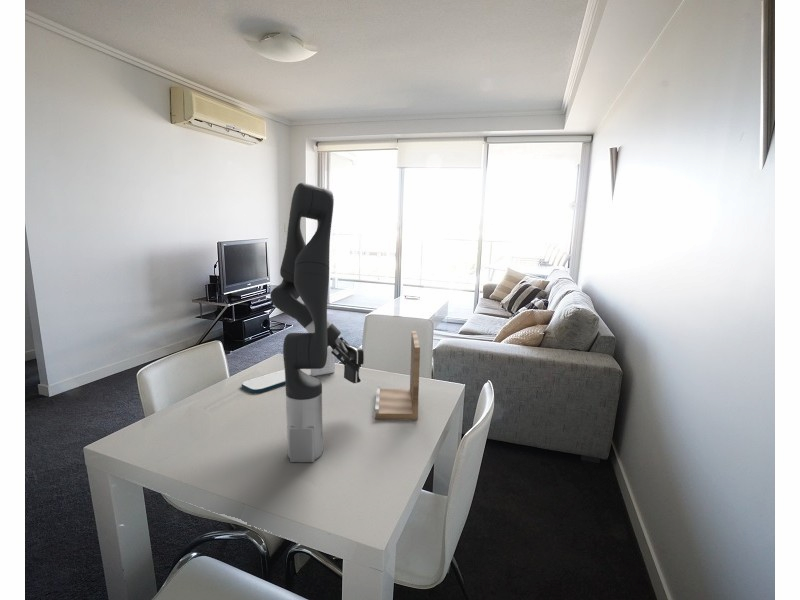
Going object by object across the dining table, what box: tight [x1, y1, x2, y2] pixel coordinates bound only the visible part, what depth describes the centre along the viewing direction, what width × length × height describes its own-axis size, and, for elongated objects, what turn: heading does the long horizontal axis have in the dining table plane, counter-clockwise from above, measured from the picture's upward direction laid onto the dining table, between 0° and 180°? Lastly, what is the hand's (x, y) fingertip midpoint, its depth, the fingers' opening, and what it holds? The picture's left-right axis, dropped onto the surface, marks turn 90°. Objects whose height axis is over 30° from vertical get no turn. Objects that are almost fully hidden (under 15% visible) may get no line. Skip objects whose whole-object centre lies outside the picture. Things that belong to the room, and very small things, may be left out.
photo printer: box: [310, 346, 336, 377], centre depth 168 cm, size 10×4×12 cm, turn 123°
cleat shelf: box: [374, 330, 421, 421], centre depth 139 cm, size 20×14×24 cm
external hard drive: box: [241, 368, 286, 394], centre depth 159 cm, size 24×12×2 cm, turn 141°
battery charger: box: [343, 345, 365, 384], centre depth 135 cm, size 7×4×11 cm, turn 38°
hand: (358, 366), depth 135 cm, fingers closed on battery charger, 7 cm apart
